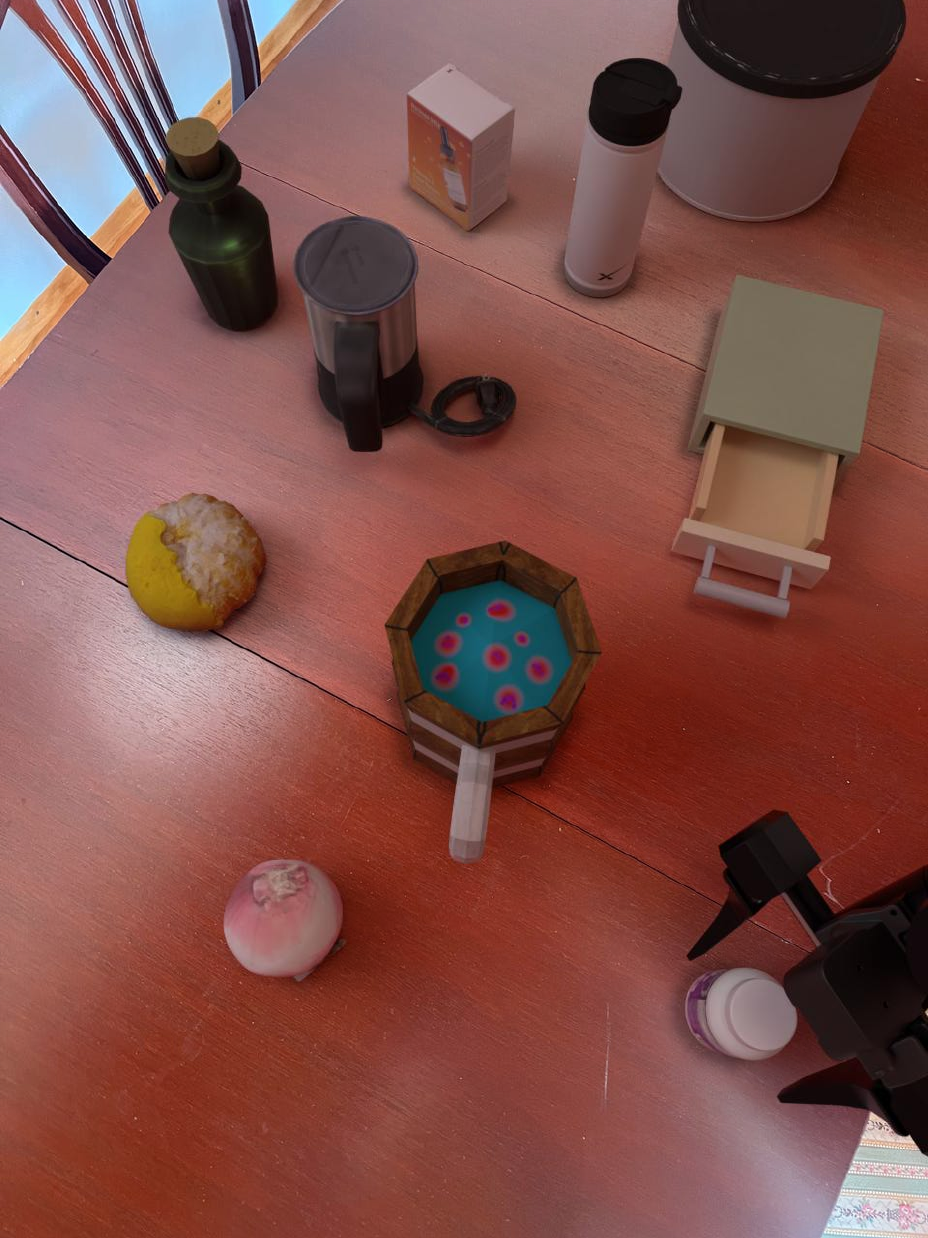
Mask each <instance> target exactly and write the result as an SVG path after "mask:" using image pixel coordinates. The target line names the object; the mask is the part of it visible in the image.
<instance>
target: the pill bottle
mask: <svg viewBox="0 0 928 1238" xmlns="http://www.w3.org/2000/svg"><path fill="white" fill-rule="evenodd" d="M684 1014H685V1019H686V1022H687V1025H688V1027H689V1030H690V1031H691V1033H692V1035H693V1036H694V1037H695V1039H696V1040H697V1041H698V1042H699V1043H700V1044H702V1046H704V1047H705V1048H707V1049H709V1050H710V1051H713V1052H714V1053H718V1054H721V1055H723V1056H724V1055H725V1056H729V1057H732V1058H737V1059H741V1060H745V1061H762V1060H763V1061H764V1060H767V1059H770V1058H772V1057H774V1056H775V1055H778V1054H779V1053H780V1052H781V1051H782V1050H783V1049H784V1048H786V1045H787V1044H788V1043H790V1041H791V1040H792V1038H793V1037H794V1035H795V1033H796V1030H797V1026H798V1011H797V1008H796V1007H795V1006H793V1005H792V1004H791V1002H790V1001H789V999H788V997H787V996H786V993H785V991H784V987H783V984H781V983H780V982H779V980H777V979H775V978H774V977H773V976H772V975H771V974H769V973H767V972H765V971H763V970H761V969H757V968H754V967H733V968H732V967H731V968H724V969H723V968H722V969H716V970H710V971H708V972H706V973H704V974H701V975H700V976H699V977H697V979H696V980H694V982H693V983H692V984H691V985H690V987H689V989H688V991H687V994H686V997H685V1002H684Z"/></svg>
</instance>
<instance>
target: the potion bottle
mask: <svg viewBox="0 0 928 1238" xmlns="http://www.w3.org/2000/svg"><path fill="white" fill-rule="evenodd" d="M219 138H220V137H219V130H218V128H217V126H216V124H214V123H213V122H212V121H211V120H210V119H207V118H203V117H200V116H192V117H191V116H190V117H189V116H188V117H185V118H182V119H179V120H177V121H176V122H174V123H173V124H172V125H170V127H169V129H168V130H167V132H166V135H165V143H166V144H167V146H168V149H169V150H170V151H169V152H168V154H167V156H166V157H165V165H164V181H165V184H166V187H167V188H168V191H169V192H170V193H172V194H173V195H174V196H175V197H177V198H178V200H177V202H176V204H175V205H174V207H173V208H172V210H171V212H170V216H169V223H168V235H169V237H170V240H171V242H172V244H173V246H174V248H175V251H176V253H177V254H178V257H179V259H180V260H181V262H182V265H183V267H184V268H185V270H186V272H187V275H188V277H189V279H190V280H191V282H192V285H193V287H194V289H195V290H196V292H197V295H198V296H199V299H200V301H201V302H202V305H203V306H204V308H205V310H206V313H207V314H208V317H209V319H211V320H212V321H213V322H214V323H216V324H217V325H218V326H221V327H223V328H226V329H229V330H233V331H236V330H237V331H238V330H239V331H240V330H241V331H242V330H250V329H253V328H256V327H258V326H261V325H262V324H264V323H265V322H266V321H267V320H268V319H270V318H271V317H272V316H273V314H274V312H275V310H276V309H277V307H278V299H279V292H278V284H277V276H276V275H277V274H276V267H275V266H276V265H275V259H274V252H273V251H274V250H273V242H272V235H271V225H270V217H269V214H268V212H267V210H266V208H265V206H264V204H263V202H262V201H261V200H260V199H259V198H258V197H257V196H256V195H254V194H253V193H252V192H251V191H249V190H248V189H247V188H245V187H244V186H242V185H239V183H240V181H241V180H242V172H243V167H242V164H241V162H240V161H239V158H238V156H237V154H236V153H235V152H234V150H233V149H232V148H231V146H229V145H228V144H226V143H225V142H224V141H222V140H221V139H219Z"/></svg>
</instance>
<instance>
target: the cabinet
mask: <svg viewBox="0 0 928 1238" xmlns="http://www.w3.org/2000/svg"><path fill="white" fill-rule="evenodd" d="M884 314H885V310H884V309H883V308H877V307H874V306H871V305H870V306H869V305H865V304H861V303H858V302H854V301H849V300H845V299H841V298H836V297H833V296H830V295H829V296H828V295H824V294H820V293H816V292H812V291H808V290H803V289H799V288H795V287H791V286H788V285H784V284H783V285H782V284H779V283H774V282H770V281H766V280H763V279H758V278H755V277H749V276H745V275H741V274H736V275H735V278H734V281H733V282H732V285H731V288H730V291H729V292H728V295H727V298H726V301H725V303H724V306H723V309H722V310H721V312H720V316H719V319H718V322H717V327H716V331H715V334H714V338H713V342H712V347H711V351H710V354H709V360H708V363H707V367H706V372H705V375H704V379H703V382H702V387H701V392H700V396H699V400H698V404H697V408H696V412H695V416H694V420H693V424H692V427H691V432H690V436H689V440H688V444H687V449H686V450H687V451H688V452H692V453H695V454H700V455H702V456H703V455H704V451H705V447H706V442H707V438H708V434H709V430H710V426H711V421H712V422H716V423H720V424H724V425H728V426H732V427H736V428H739V429H743V430H747V431H751V432H755V433H759V434H763V435H767V436H771V437H775V438H778V439H782V440H786V441H790V442H794V443H798V444H802V445H806V446H810V447H814V448H817V449H821V450H825V451H829V452H833V453H837V454H839V457H838V463H837V469H836V474H835V480H834V486H833V489H835V488H836V486H837V485H838V484H839V482H840V481H841V480H842V478H843V477H844V476H845V474H846V473H847V471H848V470H849V469H850V468H851V466H852V465H853V464H854V463H855V462H856V460H857V459H858V457H859V456H860V454H861V451H862V446H863V439H864V433H865V427H866V421H867V416H868V410H869V404H870V398H871V392H872V385H873V381H874V380H873V379H874V375H875V374H874V373H875V368H876V361H877V357H878V352H879V351H878V349H879V345H880V339H881V333H882V326H883V322H884V321H883V320H884Z"/></svg>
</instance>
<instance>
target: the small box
mask: <svg viewBox="0 0 928 1238" xmlns="http://www.w3.org/2000/svg"><path fill="white" fill-rule="evenodd" d="M515 115H516V107H514V105H511V104H510V103H509V102H507V101H505V100H504V99H502V98H501V97H499V96H497V95H496V94H495V93H493V92H491V91H490V90H488V89H487V88H486V87H485V86H483V85H482V84H481V83H479V82H478V81H476V80H475V79H474V78H471V77H470V76H469V75H468V74H467V73H465V72H464V71H463V70H461V69H460V68H458V66H457V65H455V64H454V63H453V62H448V63H446V64H445V65H443V67H441V68H439V69H438V70H437V71H435V72H434V73H433V74H431V75H430V76H428V77H427V78H426V79H424V80H423V81H421V82H420V83H418V84H417V85H416V86H415V87H413V88H412V89H410V91H408V92H407V93H406V116H407V117H406V122H407V148H408V149H407V151H408V152H407V153H408V154H407V155H408V177H409V178H408V185H409V188H410V189H411V190H413V191H414V192H416V193H417V194H419V195H420V196H421V197H423V198H424V199H425V200H427V201H428V202H429V203H431V204H432V205H433V206H434V207H436V208H437V209H438V210H439V211H440V212H442V213H444V214H445V215H446V216H447V217H449V218H450V219H451V220H452V221H454V222H455V223H456V224H457V225H458V226H460V227H461V228H462V229H463V230H465V231H466V232H470V231H471V230H473V229H474V228H475V227H476V226H478V225H479V224H480V223H481V222H482V221H484V220H485V219H486V218H488V216H490V215H492V214H493V212H495V211H496V210H497V209H499V208H500V207H501V206H502V205H504V204H505V203H507V201H508V195H509V184H510V173H511V172H510V171H511V170H510V169H511V160H512V149H513V139H514V127H515V125H514V124H515Z"/></svg>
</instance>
